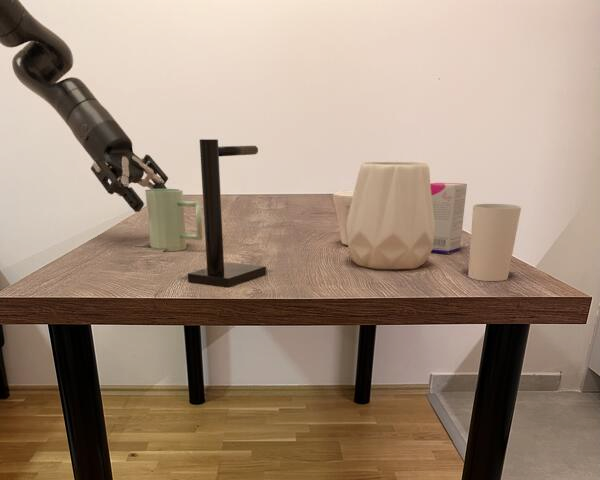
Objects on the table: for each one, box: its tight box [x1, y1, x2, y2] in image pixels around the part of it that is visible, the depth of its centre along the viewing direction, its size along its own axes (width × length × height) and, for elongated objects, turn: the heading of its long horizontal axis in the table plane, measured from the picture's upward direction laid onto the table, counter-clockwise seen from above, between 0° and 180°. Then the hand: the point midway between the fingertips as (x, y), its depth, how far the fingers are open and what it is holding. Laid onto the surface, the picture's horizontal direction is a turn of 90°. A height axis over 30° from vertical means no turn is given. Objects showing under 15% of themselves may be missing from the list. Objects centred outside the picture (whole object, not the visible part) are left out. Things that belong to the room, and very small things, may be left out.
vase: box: [346, 161, 435, 271], centre depth 101 cm, size 14×14×15 cm
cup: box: [332, 190, 354, 247], centre depth 119 cm, size 10×10×9 cm
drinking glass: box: [467, 203, 522, 282], centre depth 93 cm, size 7×7×10 cm
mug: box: [144, 188, 203, 253], centre depth 113 cm, size 11×6×10 cm, turn 62°
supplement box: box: [430, 182, 468, 255], centre depth 113 cm, size 6×6×12 cm
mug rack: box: [187, 138, 267, 288], centre depth 91 cm, size 14×7×18 cm, turn 152°
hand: (156, 206), depth 114 cm, fingers open, 8 cm apart
